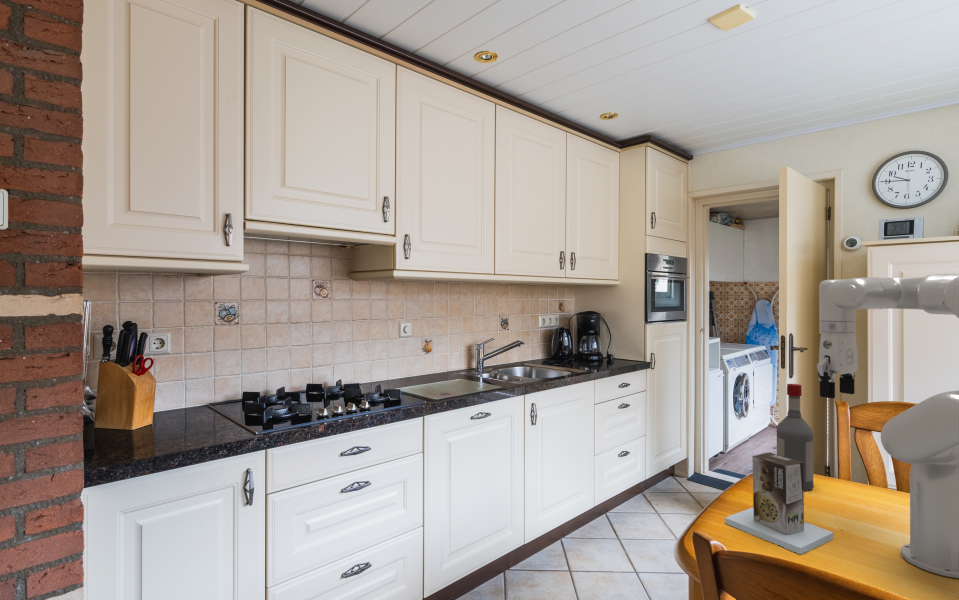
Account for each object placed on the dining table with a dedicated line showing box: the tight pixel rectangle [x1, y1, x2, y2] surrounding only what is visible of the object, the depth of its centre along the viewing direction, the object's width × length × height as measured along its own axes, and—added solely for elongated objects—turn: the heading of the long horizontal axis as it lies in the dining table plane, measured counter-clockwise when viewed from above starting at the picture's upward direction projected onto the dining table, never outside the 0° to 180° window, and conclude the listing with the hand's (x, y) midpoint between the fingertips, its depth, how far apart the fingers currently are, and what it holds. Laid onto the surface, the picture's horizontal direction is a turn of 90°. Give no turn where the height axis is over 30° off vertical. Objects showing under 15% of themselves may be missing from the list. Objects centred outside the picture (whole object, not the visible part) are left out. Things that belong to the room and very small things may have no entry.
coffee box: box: [751, 452, 805, 535], centre depth 122 cm, size 9×6×16 cm
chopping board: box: [724, 507, 834, 555], centre depth 123 cm, size 18×14×2 cm
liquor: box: [776, 383, 814, 492], centre depth 152 cm, size 9×9×30 cm
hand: (837, 395), depth 129 cm, fingers open, 9 cm apart
